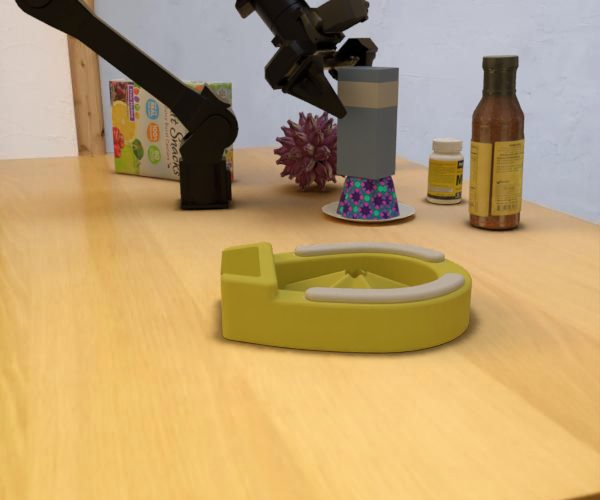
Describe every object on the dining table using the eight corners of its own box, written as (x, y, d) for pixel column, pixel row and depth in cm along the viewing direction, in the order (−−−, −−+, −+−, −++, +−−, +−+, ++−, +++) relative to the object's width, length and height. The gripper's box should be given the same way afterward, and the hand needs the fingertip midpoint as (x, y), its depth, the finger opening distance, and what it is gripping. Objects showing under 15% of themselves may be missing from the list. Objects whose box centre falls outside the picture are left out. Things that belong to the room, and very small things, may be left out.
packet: (336, 174, 100) (337, 67, 96) (356, 169, 104) (358, 65, 99) (376, 180, 97) (379, 69, 92) (395, 174, 100) (399, 67, 96)
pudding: (352, 230, 95) (353, 187, 93) (305, 210, 105) (305, 171, 103) (434, 219, 100) (436, 178, 98) (382, 201, 110) (383, 163, 108)
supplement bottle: (460, 205, 107) (465, 142, 105) (425, 203, 108) (428, 141, 105) (461, 198, 112) (465, 137, 109) (427, 196, 113) (430, 136, 110)
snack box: (236, 180, 124) (233, 81, 119) (214, 186, 120) (210, 83, 115) (136, 168, 135) (130, 76, 130) (112, 173, 131) (105, 78, 126)
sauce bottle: (523, 222, 98) (539, 54, 92) (514, 233, 93) (529, 56, 87) (471, 216, 101) (482, 53, 94) (459, 228, 96) (470, 55, 89)
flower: (272, 194, 122) (343, 173, 125) (296, 207, 111) (373, 184, 114) (255, 119, 118) (328, 100, 121) (278, 125, 107) (358, 103, 110)
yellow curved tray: (224, 287, 75) (223, 236, 73) (442, 282, 76) (445, 231, 74) (221, 357, 59) (219, 294, 57) (494, 349, 60) (499, 286, 59)
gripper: (283, -36, 88) (367, 70, 86) (366, -28, 103) (440, 63, 101) (230, 37, 95) (307, 138, 93) (315, 35, 110) (383, 122, 107)
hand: (363, 113), depth 98 cm, fingers open, 9 cm apart
